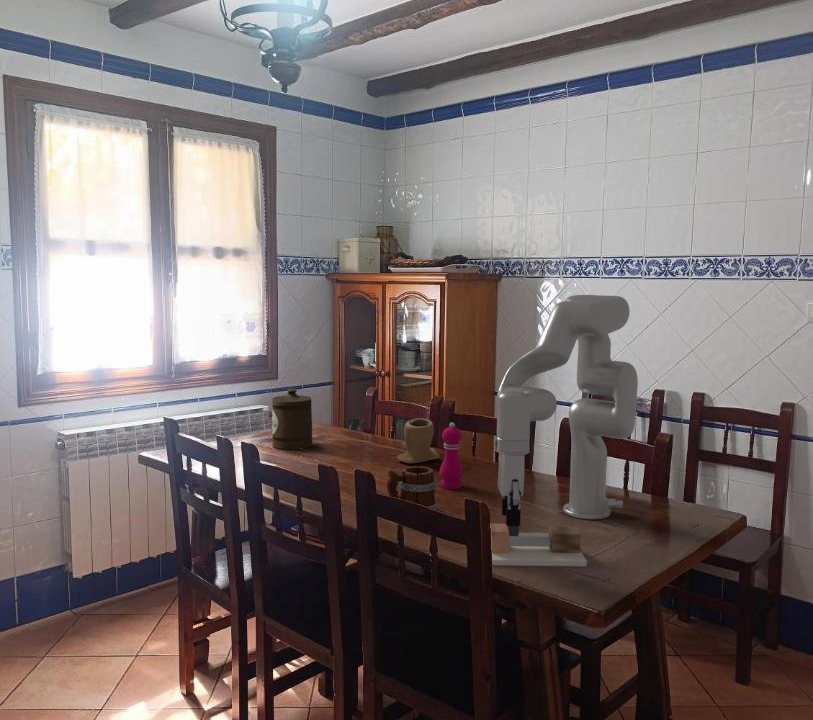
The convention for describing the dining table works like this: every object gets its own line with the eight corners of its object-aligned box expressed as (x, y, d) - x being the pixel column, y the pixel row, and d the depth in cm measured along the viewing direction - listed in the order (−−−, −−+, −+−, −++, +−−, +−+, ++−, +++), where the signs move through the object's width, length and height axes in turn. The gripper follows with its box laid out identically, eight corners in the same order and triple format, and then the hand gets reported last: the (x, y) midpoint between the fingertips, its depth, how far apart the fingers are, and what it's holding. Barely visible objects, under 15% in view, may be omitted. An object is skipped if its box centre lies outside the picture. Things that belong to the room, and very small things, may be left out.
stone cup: (412, 468, 249) (412, 424, 247) (392, 460, 259) (393, 418, 257) (448, 462, 258) (448, 419, 256) (428, 455, 267) (428, 414, 266)
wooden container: (279, 440, 289) (278, 384, 286) (316, 442, 287) (316, 385, 284) (267, 449, 274) (266, 390, 271) (306, 450, 272) (305, 391, 269)
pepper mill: (461, 490, 224) (462, 425, 222) (437, 488, 226) (438, 424, 223) (464, 483, 231) (465, 420, 229) (441, 482, 233) (442, 419, 230)
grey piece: (555, 542, 175) (556, 502, 174) (557, 546, 172) (558, 506, 171) (495, 542, 175) (496, 502, 174) (497, 546, 172) (498, 505, 171)
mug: (449, 513, 201) (442, 461, 199) (404, 530, 195) (395, 477, 192) (428, 502, 212) (421, 452, 209) (384, 517, 205) (376, 466, 203)
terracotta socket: (505, 544, 176) (506, 523, 176) (508, 553, 171) (509, 531, 170) (488, 544, 176) (489, 523, 176) (491, 553, 171) (491, 531, 170)
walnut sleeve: (575, 546, 176) (576, 527, 175) (579, 553, 171) (580, 534, 171) (547, 545, 176) (548, 526, 175) (551, 552, 171) (552, 533, 171)
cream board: (573, 543, 181) (573, 538, 181) (586, 566, 167) (586, 561, 167) (482, 542, 181) (482, 537, 181) (488, 565, 167) (488, 559, 167)
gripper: (492, 436, 179) (490, 508, 182) (501, 454, 162) (499, 533, 164) (523, 437, 179) (521, 508, 181) (535, 454, 162) (533, 533, 164)
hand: (510, 519), depth 173 cm, fingers open, 6 cm apart
